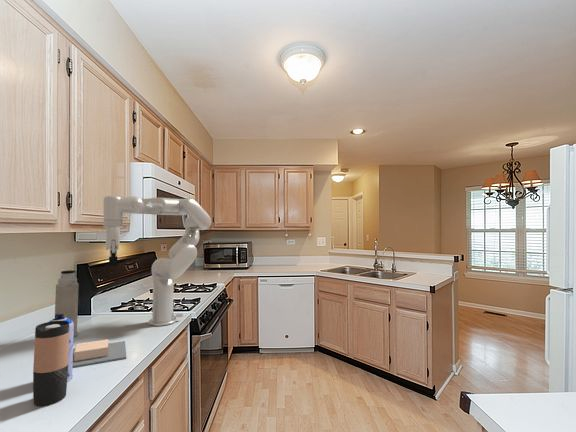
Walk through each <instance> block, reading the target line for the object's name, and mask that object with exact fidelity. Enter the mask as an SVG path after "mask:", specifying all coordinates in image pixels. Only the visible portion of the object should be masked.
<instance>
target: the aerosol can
mask: <svg viewBox="0 0 576 432" xmlns="http://www.w3.org/2000/svg"><path fill="white" fill-rule="evenodd" d="M52 321H68V322H69V358H68V376H67V383H68V382H71V381H72V380H73V377H74V375H73V368H72V365H73V349H74V337H73V336H74V324H73V321H71V320H70V319H69V318H66V317H64V314H55V313H54V318H52V319H50V320H49V321H48V322H52Z"/></svg>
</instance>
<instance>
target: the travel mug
mask: <svg viewBox="0 0 576 432" xmlns="http://www.w3.org/2000/svg"><path fill="white" fill-rule="evenodd" d="M33 348H34V350H33V367H32V368H33V369H32V370H33V371H32V373H33V374H32V377H33V379H32V381H33V382H32V386H33V387H32V390H33V391H32V393H33V394H32V397H33V398H32V399H33V401H32V402H33V403H32V404H33V405H34V406H36V407H45V406H46V407H47V406H50V405H54V404H57V403H59V402H60V401H61V402H62V400H64V399H65V398H66V396H67V388H68V387H67V386H68V382H67V376H68V358H69V322H68V321H52V322H49V321H47V322H43V323H40V324H37V325H36V326H35V331H34V347H33Z"/></svg>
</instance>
